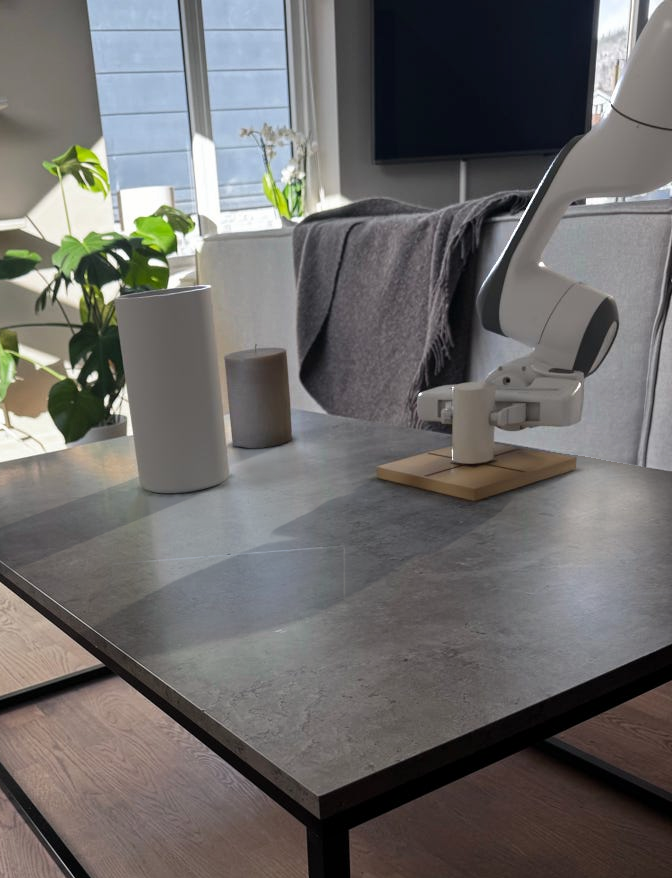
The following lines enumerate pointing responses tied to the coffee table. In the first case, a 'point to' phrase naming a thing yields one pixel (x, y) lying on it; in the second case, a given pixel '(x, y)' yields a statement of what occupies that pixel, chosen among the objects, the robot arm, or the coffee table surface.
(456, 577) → the coffee table surface
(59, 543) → the coffee table surface
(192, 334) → the cylinder vase
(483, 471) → the game board
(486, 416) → the white cylinder
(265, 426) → the pillar candle
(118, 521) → the coffee table surface
